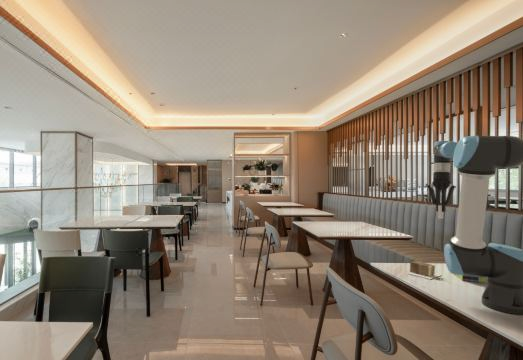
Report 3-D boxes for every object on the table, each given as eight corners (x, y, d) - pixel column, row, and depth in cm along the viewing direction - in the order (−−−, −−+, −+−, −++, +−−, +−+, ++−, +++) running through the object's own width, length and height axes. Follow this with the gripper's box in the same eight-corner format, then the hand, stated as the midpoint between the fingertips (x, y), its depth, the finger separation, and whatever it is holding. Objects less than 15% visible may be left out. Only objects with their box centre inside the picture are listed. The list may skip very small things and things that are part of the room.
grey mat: (430, 279, 157) (430, 278, 157) (407, 274, 165) (408, 273, 165) (441, 275, 164) (441, 275, 164) (419, 270, 173) (419, 269, 173)
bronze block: (410, 271, 168) (429, 276, 160) (410, 262, 168) (430, 266, 160) (414, 270, 171) (434, 275, 163) (415, 261, 171) (434, 265, 163)
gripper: (458, 172, 163) (457, 219, 163) (431, 172, 173) (430, 216, 172) (453, 171, 158) (451, 219, 158) (425, 171, 168) (424, 217, 168)
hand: (440, 218), depth 165 cm, fingers closed
